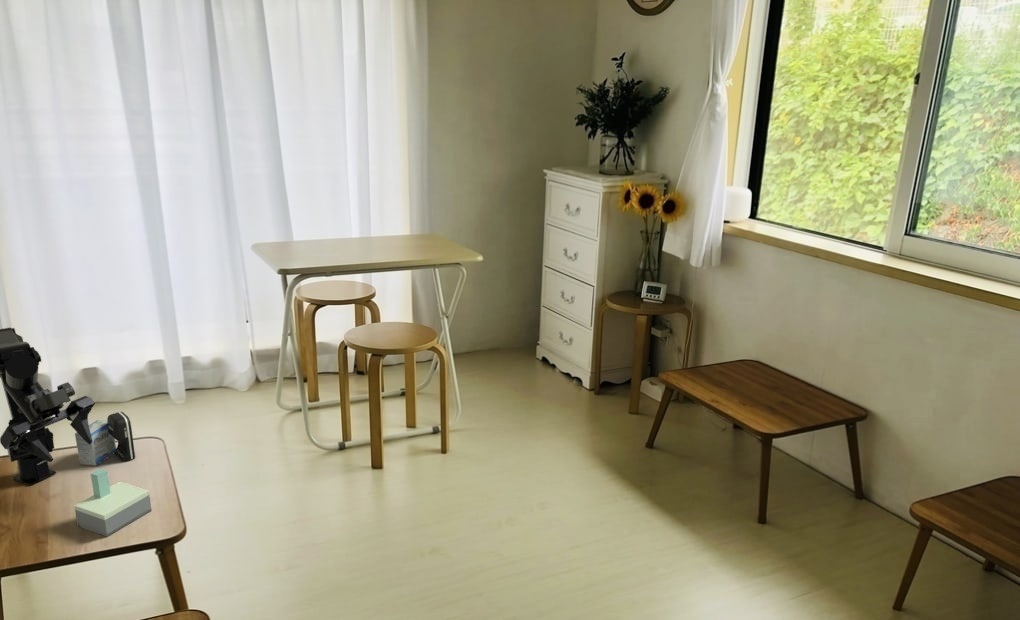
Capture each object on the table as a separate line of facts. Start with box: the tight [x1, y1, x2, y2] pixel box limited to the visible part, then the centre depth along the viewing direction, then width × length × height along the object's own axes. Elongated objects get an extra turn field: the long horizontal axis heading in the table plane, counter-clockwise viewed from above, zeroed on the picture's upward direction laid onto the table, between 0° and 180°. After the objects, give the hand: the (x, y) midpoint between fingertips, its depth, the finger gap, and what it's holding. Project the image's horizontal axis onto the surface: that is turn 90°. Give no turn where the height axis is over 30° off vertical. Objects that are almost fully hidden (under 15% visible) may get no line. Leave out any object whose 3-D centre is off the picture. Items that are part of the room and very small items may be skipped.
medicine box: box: [74, 419, 117, 467], centre depth 184 cm, size 8×4×9 cm, turn 170°
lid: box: [73, 468, 150, 520], centre depth 158 cm, size 9×11×6 cm
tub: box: [74, 494, 153, 538], centre depth 160 cm, size 9×11×4 cm
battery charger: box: [106, 411, 136, 462], centre depth 185 cm, size 7×4×11 cm, turn 45°
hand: (72, 451), depth 160 cm, fingers open, 9 cm apart
